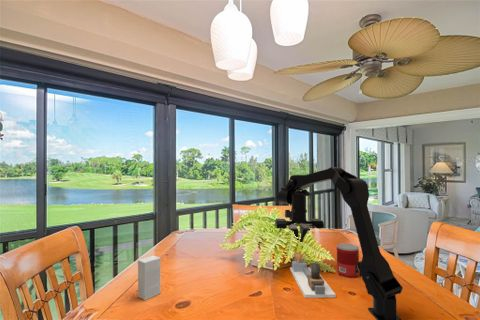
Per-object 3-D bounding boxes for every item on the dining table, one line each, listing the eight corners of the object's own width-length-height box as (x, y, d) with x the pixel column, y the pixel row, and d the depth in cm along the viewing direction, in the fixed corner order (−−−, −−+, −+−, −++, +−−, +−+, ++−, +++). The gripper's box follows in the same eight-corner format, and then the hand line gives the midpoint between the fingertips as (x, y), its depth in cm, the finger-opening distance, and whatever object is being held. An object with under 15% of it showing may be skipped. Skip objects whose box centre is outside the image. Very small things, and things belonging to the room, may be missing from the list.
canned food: (361, 279, 99) (360, 249, 99) (338, 277, 101) (338, 248, 101) (356, 271, 107) (356, 243, 107) (335, 269, 108) (335, 242, 109)
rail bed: (335, 297, 85) (335, 285, 85) (304, 297, 85) (304, 285, 85) (314, 269, 108) (314, 259, 108) (290, 269, 108) (290, 259, 108)
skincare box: (153, 289, 90) (153, 254, 90) (160, 293, 87) (161, 257, 88) (137, 296, 85) (137, 259, 86) (144, 301, 83) (144, 262, 83)
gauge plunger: (302, 259, 104) (302, 254, 104) (296, 259, 104) (296, 254, 104) (301, 257, 106) (301, 252, 106) (295, 257, 106) (295, 252, 106)
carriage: (324, 289, 88) (324, 267, 88) (311, 290, 87) (311, 267, 88) (319, 283, 93) (319, 261, 93) (307, 283, 92) (307, 261, 93)
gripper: (315, 203, 114) (315, 239, 113) (272, 203, 113) (272, 239, 113) (324, 207, 103) (324, 247, 102) (277, 207, 102) (277, 247, 102)
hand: (298, 245), depth 105 cm, fingers closed
